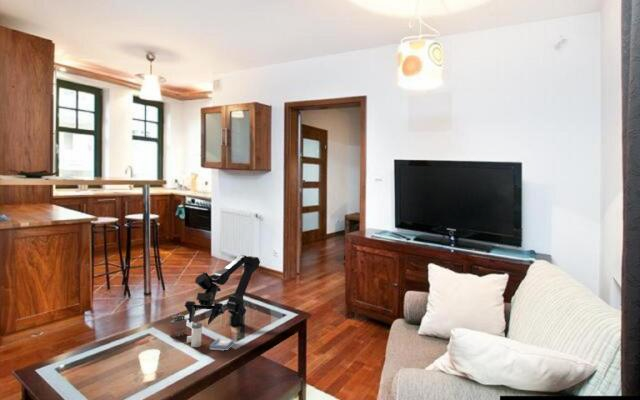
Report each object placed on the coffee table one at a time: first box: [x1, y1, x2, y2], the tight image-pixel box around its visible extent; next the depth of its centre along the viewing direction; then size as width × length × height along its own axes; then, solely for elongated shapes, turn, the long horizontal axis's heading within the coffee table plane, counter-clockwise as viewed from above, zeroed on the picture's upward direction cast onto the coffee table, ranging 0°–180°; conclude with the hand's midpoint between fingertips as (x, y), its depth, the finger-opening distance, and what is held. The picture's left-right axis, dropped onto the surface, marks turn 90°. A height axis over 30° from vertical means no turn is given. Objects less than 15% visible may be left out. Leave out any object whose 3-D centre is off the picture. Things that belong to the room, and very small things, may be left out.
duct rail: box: [186, 335, 192, 343], centre depth 169 cm, size 6×2×2 cm, turn 122°
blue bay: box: [209, 338, 235, 351], centre depth 165 cm, size 9×8×2 cm
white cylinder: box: [190, 321, 203, 348], centre depth 165 cm, size 4×4×10 cm
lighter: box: [169, 314, 188, 338], centre depth 177 cm, size 8×3×10 cm, turn 134°
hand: (198, 323), depth 167 cm, fingers open, 9 cm apart
